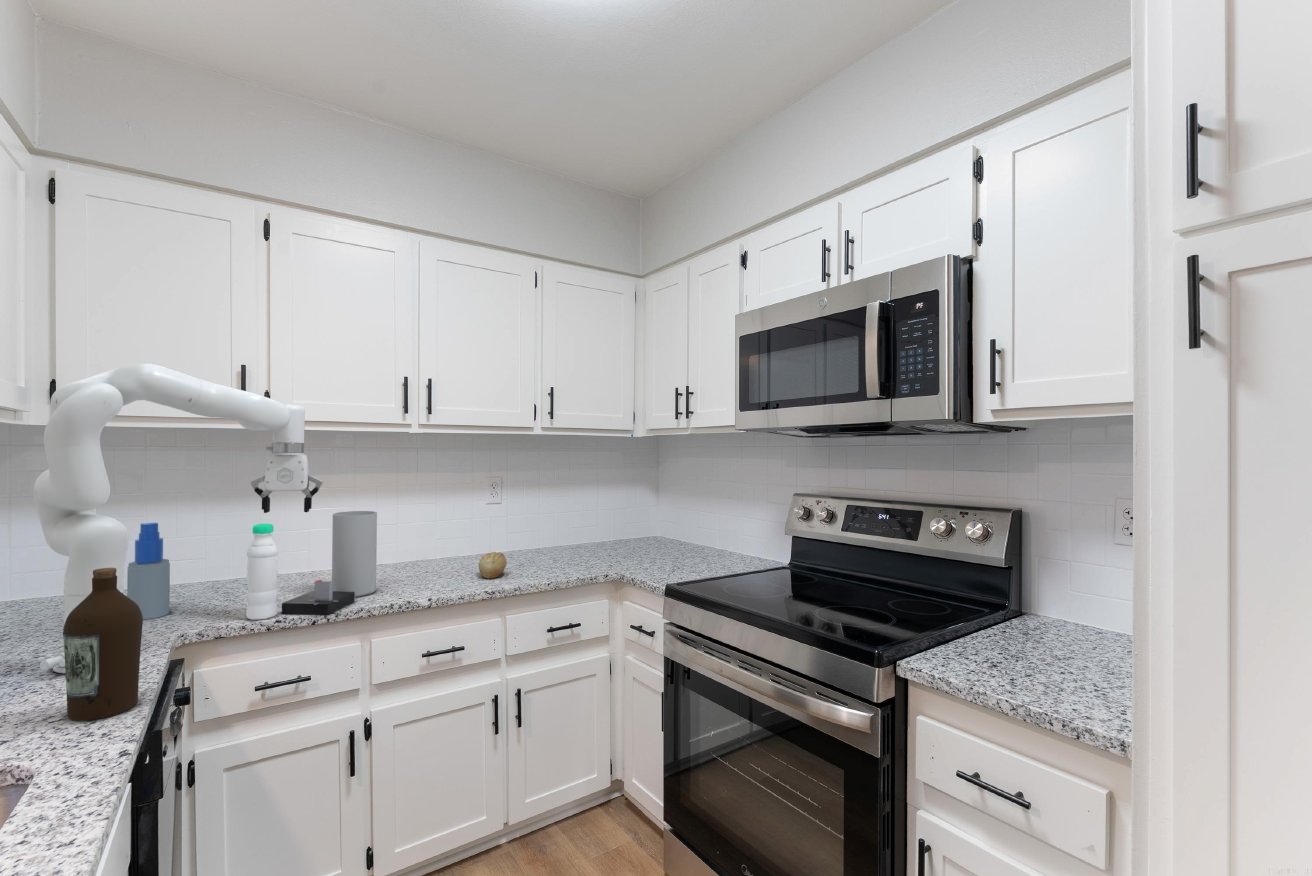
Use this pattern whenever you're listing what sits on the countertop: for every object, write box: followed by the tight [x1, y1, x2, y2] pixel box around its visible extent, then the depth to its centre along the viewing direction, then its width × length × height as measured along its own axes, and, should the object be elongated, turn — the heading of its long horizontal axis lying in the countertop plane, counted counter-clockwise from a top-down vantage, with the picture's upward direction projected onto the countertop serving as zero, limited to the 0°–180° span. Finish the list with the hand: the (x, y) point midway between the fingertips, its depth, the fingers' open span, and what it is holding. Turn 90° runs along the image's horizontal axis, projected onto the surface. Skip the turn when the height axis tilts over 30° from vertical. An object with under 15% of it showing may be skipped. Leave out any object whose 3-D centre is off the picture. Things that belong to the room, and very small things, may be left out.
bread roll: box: [478, 551, 508, 580], centre depth 223 cm, size 10×15×8 cm, turn 10°
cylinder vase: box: [331, 510, 378, 598], centre depth 195 cm, size 12×12×25 cm
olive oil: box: [62, 568, 144, 722], centre depth 111 cm, size 11×11×25 cm
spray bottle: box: [126, 522, 171, 621], centre depth 169 cm, size 9×9×25 cm
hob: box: [281, 590, 356, 616], centre depth 178 cm, size 15×14×3 cm
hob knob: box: [314, 579, 333, 602], centre depth 174 cm, size 4×2×6 cm, turn 86°
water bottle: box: [245, 523, 279, 621], centre depth 169 cm, size 7×7×25 cm
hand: (286, 512), depth 171 cm, fingers open, 9 cm apart
